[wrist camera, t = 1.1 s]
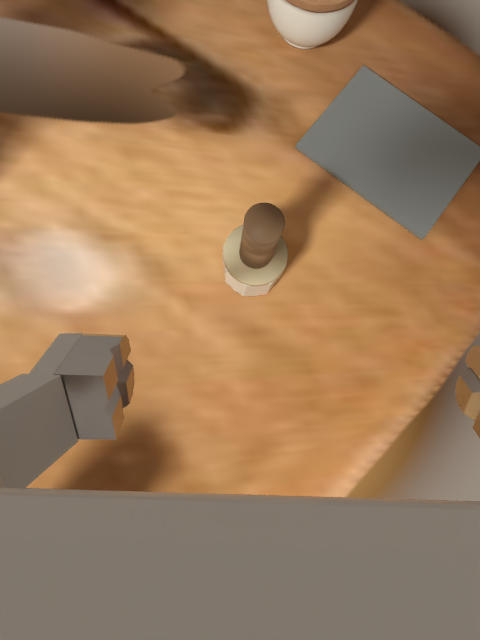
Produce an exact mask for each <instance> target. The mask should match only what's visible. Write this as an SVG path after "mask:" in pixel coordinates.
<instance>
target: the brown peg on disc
mask: <svg viewBox="0 0 480 640" xmlns="http://www.w3.org/2000/svg"><path fill="white" fill-rule="evenodd" d="M284 225H285V220H284V216H283V214H282V212H281V211H280V210H279V209H278V208H277V207H276V206H274V205H272V204H269V203H258V204H255V205H253V206H252V207H251V208H250V209H249V210H248V211H247V212H246V215H245V218H244V224H243V225H241V226H239V227H237V228H236V229H235V230H233V231H232V232H231V233H230V235H229V236H228V238H227V240H226V242H225V245H224V252H223V257H224V263H225V266H226V268H227V270H228V272H229V273H230V275H231V276H232V277H233V278H234V279H236V280H237V281H239V282H240V283H242V284H245V285H249V286H263V285H267V284H269V283H271V282H273V281H274V280H276V279H277V278H278V277H279V276H280V274H281V273H282V272H283V270H284V268H285V266H286V263H287V259H288V249H287V245H286V243H285V240H284V239H283V237H282V236H281V234H282V232H283V229H284Z"/></svg>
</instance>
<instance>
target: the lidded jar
mask: <svg viewBox="0 0 480 640" xmlns="http://www.w3.org/2000/svg"><path fill="white" fill-rule="evenodd" d="M357 1H358V0H267V5H268V10H269V14H270V18H271V20H272V22H273V25H274V26H275V28H276V30H277V31H278V32H279V33H280V35H281V36H282V37H283V39H284V40H285V41H286V42H287V43H288V44H290V45H291V46H293V47H296V48H299V49H311V48H315V47H317V46H319V45H321V44H323V43H326V42H328V41H329V40H331V39H332V38H333V37H335V36H336V35H337V34H338V33H339V32H340V31H341V30H342V28H343V27H344V26H345V24H346V23H347V21H348V20H349V18H350V16H351V14H352V12H353V10H354V8H355V6H356V4H357Z"/></svg>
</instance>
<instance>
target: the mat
mask: <svg viewBox="0 0 480 640" xmlns="http://www.w3.org/2000/svg"><path fill="white" fill-rule="evenodd" d="M295 148H296V149H297V150H299V151H300V152H301V153H303V154H304V155H306V156H307V157H308V158H310V159H311V160H312V161H314V162H315V163H317V164H318V165H319V166H321V167H322V168H323V169H325V170H326V171H328V172H329V173H330V174H332V175H333V176H334V177H336V178H337V179H339V180H340V181H341V182H343V183H344V184H345V185H347V186H348V187H350V188H351V189H352V190H354V191H355V192H356V193H358V194H359V195H361V196H362V197H363V198H365V199H366V200H367V201H369V202H370V203H372V204H373V205H374V206H376V207H377V208H378V209H380V210H381V211H383V212H384V213H385V214H387V215H388V216H389V217H391V218H392V219H394V220H395V221H396V222H398V223H399V224H400V225H402V226H403V227H405V228H406V229H407V230H409V231H410V232H411V233H413V234H414V235H416V236H417V237H418V238H420V239H421V240H422V239H424V238H425V236H426V235H427V234H428V232H429V231H430V229H431V228H432V227H433V225H434V224H435V222H436V221H437V220H438V218H439V217H440V215H441V214H442V213H443V211H444V210H445V208H446V207H447V206H448V204H449V203H450V202H451V200H452V199H453V197H454V196H455V195H456V193H457V192H458V190H459V189H460V188H461V186H462V185H463V183H464V182H465V181H466V179H467V178H468V177H469V175H470V174H471V172H472V171H473V170H474V168H475V167H476V165H477V164H478V163H479V161H480V146H478V145H477V144H476V143H474V142H473V141H471V140H470V139H468V138H467V137H466V136H464V135H463V134H461V133H460V132H458V131H457V130H456V129H454V128H453V127H451V126H450V125H448V124H447V123H446V122H444V121H443V120H441V119H440V118H438V117H437V116H436V115H434V114H433V113H431V112H430V111H428V110H427V109H426V108H424V107H423V106H421V105H420V104H418V103H417V102H416V101H414V100H413V99H411V98H410V97H408V96H407V95H406V94H404V93H403V92H401V91H400V90H398V89H397V88H396V87H394V86H393V85H391V84H390V83H388V82H387V81H386V80H384V79H383V78H381V77H380V76H378V75H377V74H376V73H374V72H373V71H371V70H370V69H368V68H367V67H366V66H364V65H363V66H362V68H361V69H360V70H359V71H358V72H357V74H356V75H355V76H354V77H353V78H352V79H351V81H350V82H349V83H348V84H347V85H346V87H345V88H344V89H343V90H342V91H341V92H340V94H339V95H338V96H337V97H336V98H335V100H334V101H333V102H332V103H331V104H330V105H329V107H328V108H327V109H326V110H325V111H324V113H323V114H322V115H321V116H320V117H319V118H318V120H317V121H316V122H315V123H314V124H313V125H312V127H311V128H310V129H309V130H308V131H307V133H306V134H305V135H304V136H303V137H302V138H301V140H300V141H299V142H298V143H297V144H296V147H295Z"/></svg>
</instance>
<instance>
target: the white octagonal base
mask: <svg viewBox="0 0 480 640" xmlns="http://www.w3.org/2000/svg"><path fill="white" fill-rule="evenodd" d="M223 252H224V246H223ZM286 266H287V263H286ZM286 266H285V267H286ZM223 268H224V276H225V283H227V284H228V285H229V286H230V287H231V288H232V289H233V290H234V291H236V292H237V293H239V294H241V295H242V296H250V297H253V296H259V295H262V294H267V293H268V292H269V290H270V289H271V288H272V287H273V286H274V284H275V283H276V282H277V280H278V279H279V278H280V277H281V275H282V273H283V272H282V273H281V274H280V276H279V277H278V278H277V279H276V280H274V281H273V282H271V283H269V284H267V285H263V286H249V285H245V284H242V283H240V282H239V281H237V280H236V279H234V278H233V277H232V276H231V275H230V273H229V272H228V270H227V268H226V266H225V263H224V257H223ZM284 269H285V268H284ZM283 271H284V270H283Z"/></svg>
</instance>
